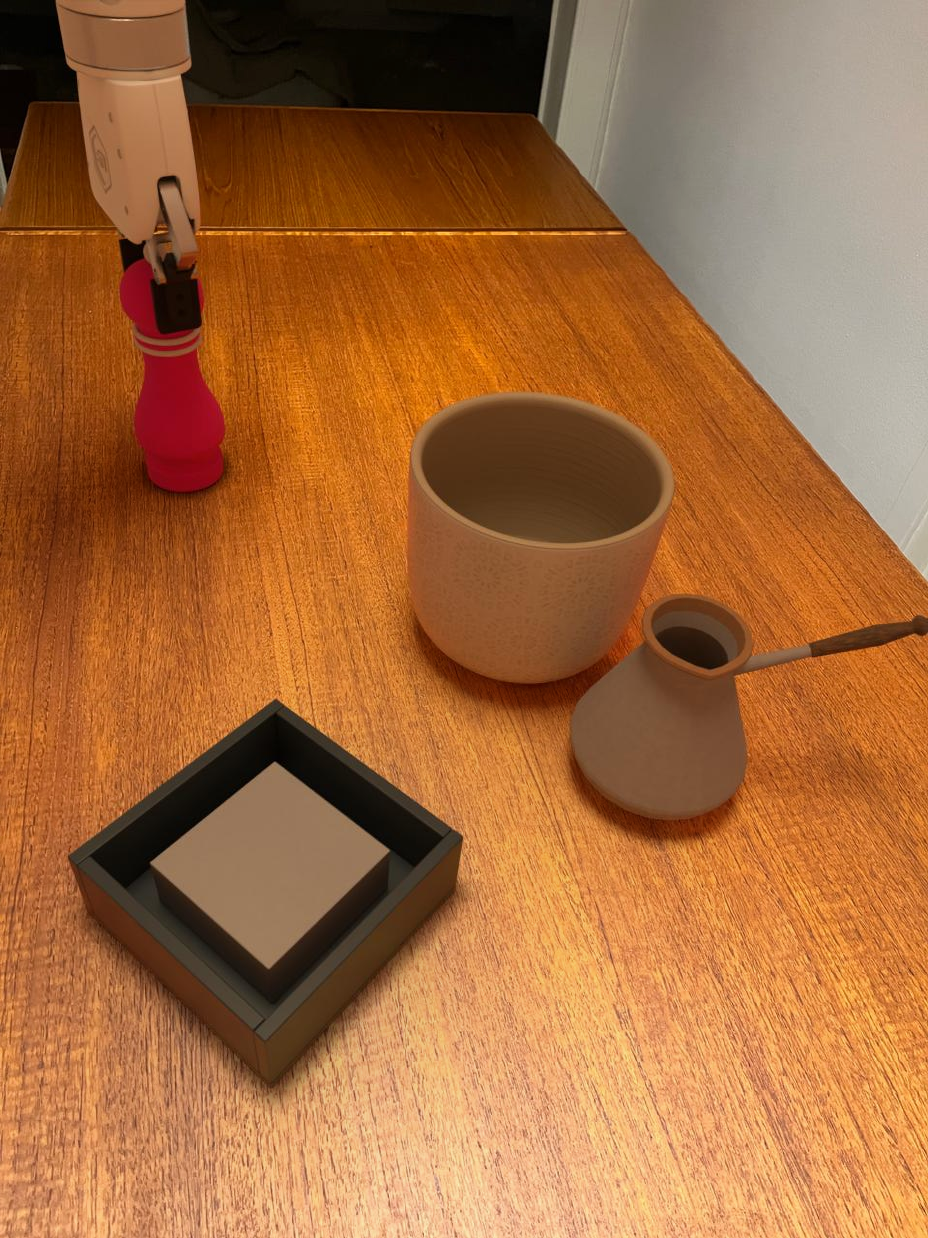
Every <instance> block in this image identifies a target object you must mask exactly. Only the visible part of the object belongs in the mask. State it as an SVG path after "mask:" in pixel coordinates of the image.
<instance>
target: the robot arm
mask: <svg viewBox="0 0 928 1238" xmlns="http://www.w3.org/2000/svg"><path fill="white" fill-rule="evenodd" d="M55 6H56V12H57V16H58V17H57V18H58V23H59V27H60V28H59V29H60V33H61V38H62V39H61V40H62V45H63V50H64V55H65V61H66V64H67V66H68V67H69V68H70V69H71V70H73V71H75V72H76V79H77V81H76V82H77V91H78V93H77V94H78V100H79V101H78V102H79V109H80V116H81V117H80V118H81V124H82V132H83V133H82V134H83V141H84V148H85V154H86V162H87V169H88V177H89V183H90V189H91V192H92V195H93V197H94V199H95V200H96V202H97V204H99V207H100V208H101V209H102V210H103V211H104V213H105V214H106V215H107V217H108V218H109V220H111V222H112V223H113V224H114V225H115V227H116V230H117V234H118V236H119V238H120V239H119V238H118V246H119V251H120V257H121V262H122V269H123V274H124V273H125V271H126V270H127V269H128V268H129V266H131V265H132V264H134V263H135V262H136V261H139V260H141V259H144V258H145V257H144V253H143V249H144V246H145V244H146V245H147V249H148V253H149V257H150V261H151V265H152V270H153V274H154V278H155V279H150V286H151V293H152V300H153V307H154V314H155V320H156V327H157V329H158V331H159V332H160V333H161V334H163V335H165V334H170V333H176V332H181V331H186V330H191V329H197V328H199V327H200V326H201V327H202V325H203V320H202V319H203V318H202V313H201V309H200V300H199V291H198V282H197V277H198V278H199V275H198V268H197V263H198V260H197V259H198V257H199V248H198V244H197V241H196V238H195V235H196V234H198V232H199V231H200V229H201V202H200V193H199V184H198V183H199V182H198V173H197V167H196V158H195V153H194V145H193V139H192V132H191V126H190V120H189V111H188V107H187V102H186V96H185V91H184V85H183V80H182V76H181V75H182V74H184V73H186V72H188V71H189V70H190V69H191V67H192V55H191V46H190V35H189V26H188V15H187V6H186V0H55ZM164 224H165V227H166V230H167V231H166V232H160V233H159V225H164ZM161 243H165V244H169V243H171V247H170V251H171V252H169V253H166V255H165V258H164V260H163V261H162V257H161V253H160V248H159V244H161Z"/></svg>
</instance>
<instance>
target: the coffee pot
mask: <svg viewBox="0 0 928 1238" xmlns="http://www.w3.org/2000/svg"><path fill="white" fill-rule="evenodd" d="M640 623H641V635H642V636H643V639H644V640H643V641H642V642H641V643H640V644H639V645H638V646H637V647H635V648H634V649H633V650H632V651H631V652H630V653H629V654H627V655H626V656H625V657H624V658H622V660H621V661H619V662H618V663H617V664H615V666H614V667H612V668H611V669H610V670H609V671H607V672H606V673H605V674H604V675H603V676H602V677H601V678H599V679H598V680H597V681H596V682H595V683H594V684H593V685H591V686H590V687H589V688H588V689H587V690H586V691H585V693H584V694H582V696H581V697H580V699H578V701H577V703H576V704H575V707H574V709H573V712H572V715H571V717H570V720H569V722H570V723H569V725H570V726H569V741H570V745H571V749H572V751H573V755H574V758H575V761H576V763H577V765H578V767H579V768H580V770H581V772H582V773H583V775H584V777H585V778H586V780H587V781H588V783H589V784H590V785H591V786H592V787H593V788H594V789H595V790H596V791H597V792H598V793H599V794H601V796H602V797H604V799H606V800H608V801H610V802H611V803H612V804H614V805H616V806H618V807H619V808H621V809H623V810H624V811H628V812H630V813H633V814H635V815H639V816H641V817H644V818H648V819H653V820H654V819H655V820H663V821H678V820H679V821H680V820H690V819H691V820H692V819H693V818H696V817H699V816H702V815H705V814H707V813H710V812H712V811H714V810H716V809H718V808H720V806H722V805H724V804H725V803H726V802H727V801H729V800H730V799H731V798H733V796H735V794H736V792H737V791H738V789H739V788H740V786H741V785H742V783H743V781H744V780H745V777H746V772H747V766H748V761H749V755H748V749H747V743H746V742H747V741H746V736H745V730H744V725H743V724H744V723H743V718H742V712H741V707H740V701H739V696H738V690H737V685H736V679H735V677H736V676H741V675H744V674H749V673H752V672H756V671H760V670H764V669H768V668H773V667H776V666H780V665H785V664H789V663H793V662H796V661H800V660H804V659H807V658H820V657H824V656H830V655H835V654H843V653H847V652H854V651H859V650H865V649H871V648H876V647H882V646H884V645H887V644H889V643H892V642H896V641H897V640H901V639H903V638H906V637H908V636H911V635H914V634H915V635H917V636H920V637H925V636H926V635H927V634H928V617H926V616H923V615H921V614H917V615H916V616H913V618H912V619H911V621H909V620H908V621H898V622H890V623H876V624H872V625H869V626H865V627H862V628H858V629H854V630H851V631H848V632H847V631H846V632H844V633H841V634H837V635H833V636H830V637H825V638H822V639H819V640H815V641H813V642H808V644H804V645H799V646H795V647H790V648H784V649H779V650H773V651H770V652H764V653H760V654H755V655H752V654H753V650H754V639H753V634H752V631H751V629H750V627H749V625H748V624H747V622H746V621H745V620H744V619H743V617H741V615H740V614H739V613H738V612H736V611H735V610H734V609H733V608H731V607H730V606H728V605H726V604H725V603H723V602H721V601H718V600H716V599H715V598H711V597H708V596H705V595H702V594H695V593H688V592H687V593H672V594H668V595H666V596H665V595H664V596H662V597H660V598H658V599H657V600H655V601H653V602H651V604H650V605H649V606H648V607H647V608H646V609H645V610H644V612H643V615H642V618H641V622H640Z"/></svg>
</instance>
